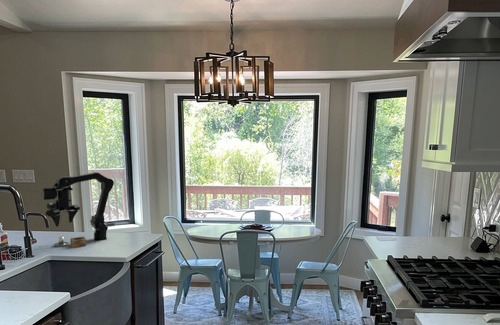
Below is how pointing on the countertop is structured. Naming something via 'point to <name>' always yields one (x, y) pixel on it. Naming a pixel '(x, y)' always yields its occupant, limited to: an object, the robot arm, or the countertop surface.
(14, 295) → the countertop surface
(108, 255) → the countertop surface
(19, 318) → the countertop surface
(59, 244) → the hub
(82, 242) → the wooden square frame
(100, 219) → the robot arm
